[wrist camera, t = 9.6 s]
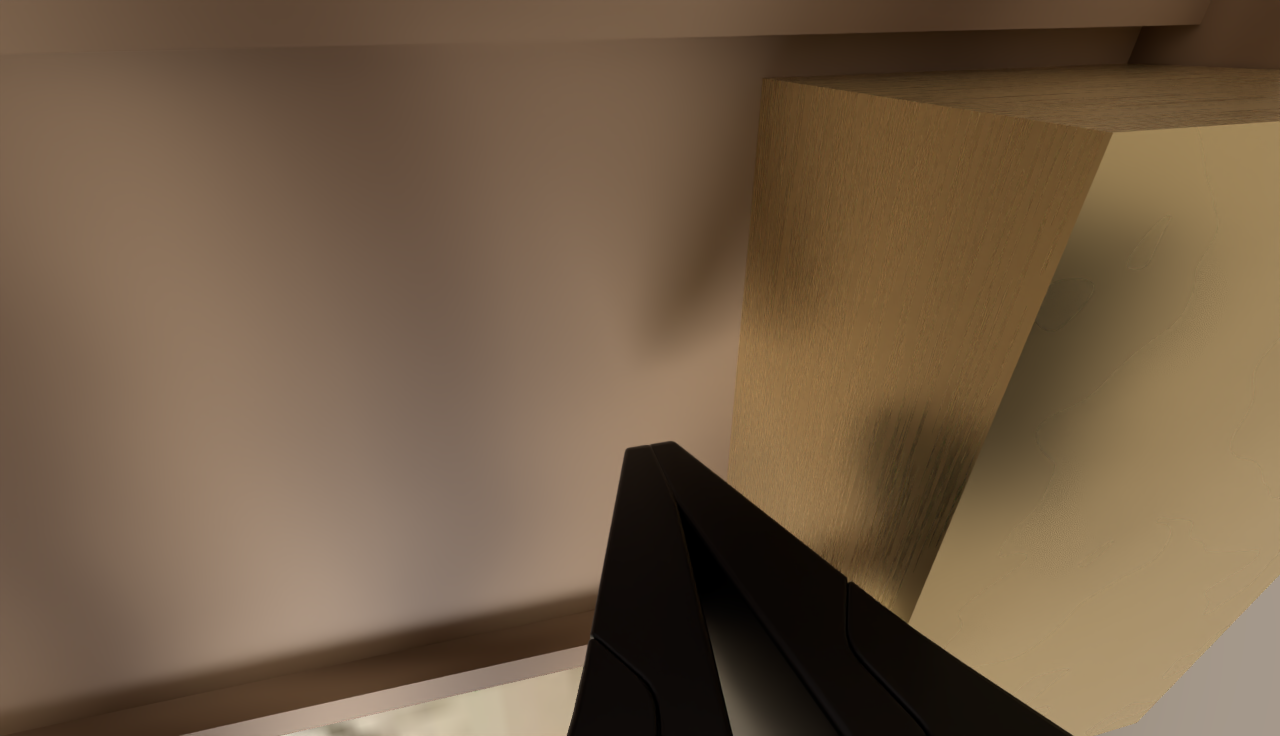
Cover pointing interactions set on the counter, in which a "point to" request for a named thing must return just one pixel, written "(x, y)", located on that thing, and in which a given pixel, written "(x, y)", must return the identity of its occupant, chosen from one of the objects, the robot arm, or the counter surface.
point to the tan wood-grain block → (1023, 361)
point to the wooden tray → (391, 319)
